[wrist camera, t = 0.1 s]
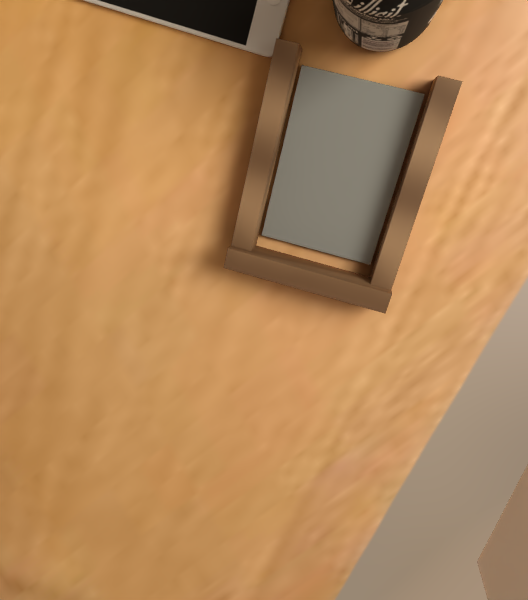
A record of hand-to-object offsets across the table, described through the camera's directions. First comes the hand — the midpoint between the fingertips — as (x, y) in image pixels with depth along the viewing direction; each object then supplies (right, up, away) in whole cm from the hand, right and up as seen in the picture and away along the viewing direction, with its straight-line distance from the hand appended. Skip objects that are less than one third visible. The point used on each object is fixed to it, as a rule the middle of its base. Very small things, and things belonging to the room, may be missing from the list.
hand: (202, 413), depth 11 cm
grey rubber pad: (+7, +12, +25) cm, 28 cm away
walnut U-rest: (+7, +12, +25) cm, 28 cm away
